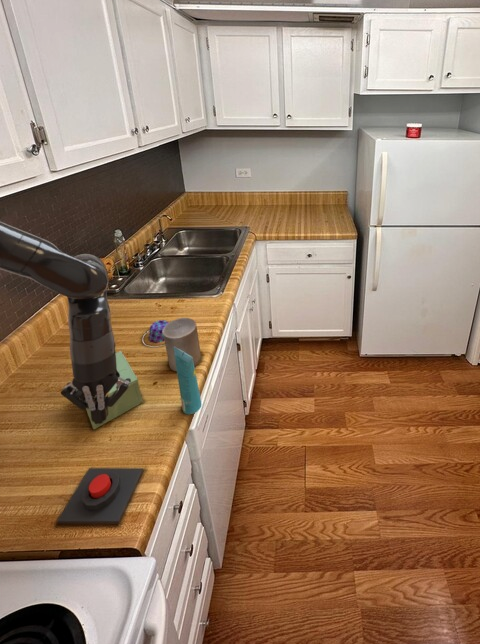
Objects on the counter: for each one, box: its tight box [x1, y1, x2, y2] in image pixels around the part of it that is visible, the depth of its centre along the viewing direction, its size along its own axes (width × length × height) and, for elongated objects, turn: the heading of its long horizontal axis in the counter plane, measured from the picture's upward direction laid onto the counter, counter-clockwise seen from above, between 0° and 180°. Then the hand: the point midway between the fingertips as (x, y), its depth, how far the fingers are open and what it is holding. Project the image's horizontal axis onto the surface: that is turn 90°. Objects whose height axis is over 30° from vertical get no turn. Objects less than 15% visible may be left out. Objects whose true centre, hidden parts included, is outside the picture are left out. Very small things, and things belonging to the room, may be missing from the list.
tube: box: [174, 347, 202, 415], centre depth 87 cm, size 7×5×19 cm, turn 63°
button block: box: [56, 467, 144, 525], centre depth 69 cm, size 12×10×4 cm
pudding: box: [142, 319, 169, 348], centre depth 116 cm, size 12×12×5 cm
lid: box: [109, 350, 139, 396], centre depth 88 cm, size 15×12×1 cm
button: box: [89, 474, 111, 498], centre depth 68 cm, size 4×4×2 cm
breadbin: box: [85, 381, 144, 431], centre depth 90 cm, size 14×12×9 cm
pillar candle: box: [162, 317, 202, 372], centre depth 103 cm, size 10×10×15 cm
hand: (100, 420), depth 72 cm, fingers closed
